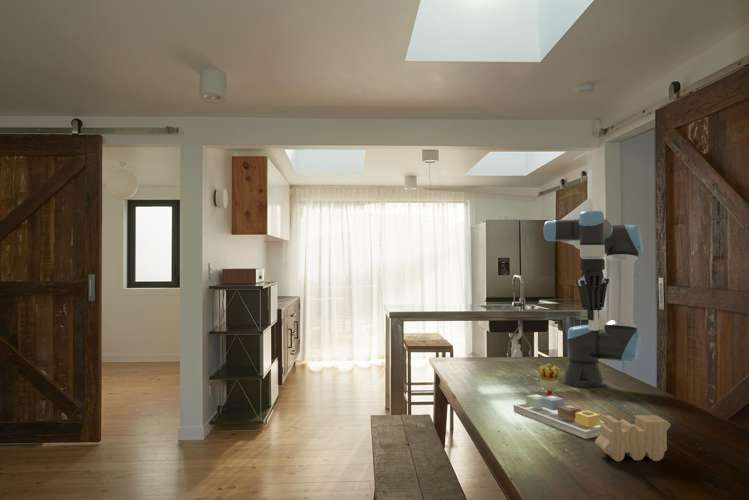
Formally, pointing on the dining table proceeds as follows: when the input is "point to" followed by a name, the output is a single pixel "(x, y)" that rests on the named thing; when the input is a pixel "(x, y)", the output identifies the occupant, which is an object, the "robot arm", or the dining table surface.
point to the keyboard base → (558, 421)
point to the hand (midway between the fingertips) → (593, 329)
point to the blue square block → (551, 402)
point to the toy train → (634, 437)
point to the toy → (549, 378)
